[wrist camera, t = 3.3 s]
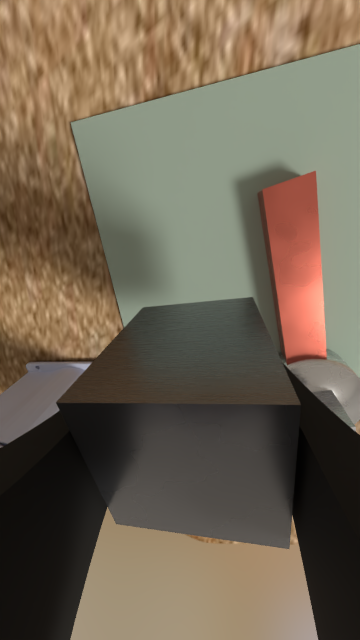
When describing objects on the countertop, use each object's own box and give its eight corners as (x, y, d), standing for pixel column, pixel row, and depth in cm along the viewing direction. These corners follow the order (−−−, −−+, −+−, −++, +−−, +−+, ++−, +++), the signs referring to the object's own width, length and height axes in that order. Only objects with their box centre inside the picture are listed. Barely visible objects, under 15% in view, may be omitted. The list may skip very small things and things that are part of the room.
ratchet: (349, 407, 18) (397, 476, 14) (265, 413, 20) (279, 476, 15) (347, 161, 12) (440, 118, 7) (221, 205, 14) (222, 197, 9)
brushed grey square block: (162, 389, 12) (116, 524, 7) (142, 307, 10) (55, 402, 5) (255, 389, 11) (289, 548, 6) (252, 296, 9) (301, 405, 4)
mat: (146, 405, 23) (145, 408, 23) (74, 124, 14) (70, 122, 13) (356, 413, 19) (359, 417, 19) (468, 19, 9) (478, 11, 9)
